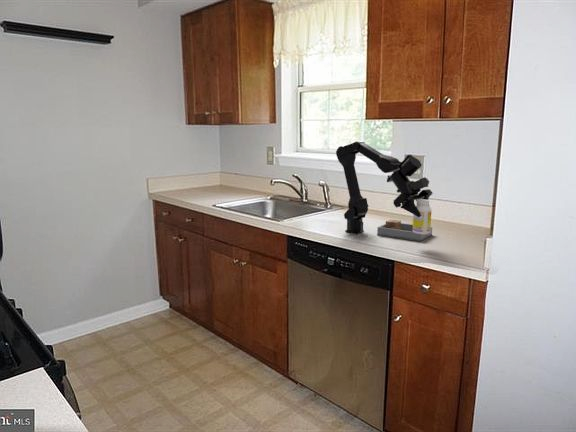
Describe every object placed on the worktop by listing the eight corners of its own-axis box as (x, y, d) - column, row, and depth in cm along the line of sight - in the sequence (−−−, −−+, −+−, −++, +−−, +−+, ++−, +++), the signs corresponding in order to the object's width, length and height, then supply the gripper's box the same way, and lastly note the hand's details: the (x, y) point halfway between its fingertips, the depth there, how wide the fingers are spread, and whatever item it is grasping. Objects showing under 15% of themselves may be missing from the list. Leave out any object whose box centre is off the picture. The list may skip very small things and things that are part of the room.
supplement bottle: (426, 230, 173) (428, 198, 170) (432, 234, 167) (434, 201, 164) (410, 230, 173) (411, 198, 170) (415, 234, 166) (417, 201, 164)
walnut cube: (385, 232, 193) (385, 221, 192) (390, 230, 197) (390, 219, 196) (395, 233, 190) (396, 222, 189) (400, 231, 194) (400, 220, 193)
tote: (377, 234, 191) (377, 227, 190) (390, 228, 202) (390, 221, 201) (420, 241, 179) (421, 233, 179) (431, 234, 190) (432, 227, 189)
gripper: (401, 172, 162) (425, 206, 156) (430, 169, 173) (453, 200, 167) (383, 190, 170) (405, 223, 164) (412, 186, 181) (433, 216, 175)
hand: (425, 215), depth 167 cm, fingers closed on supplement bottle, 7 cm apart
